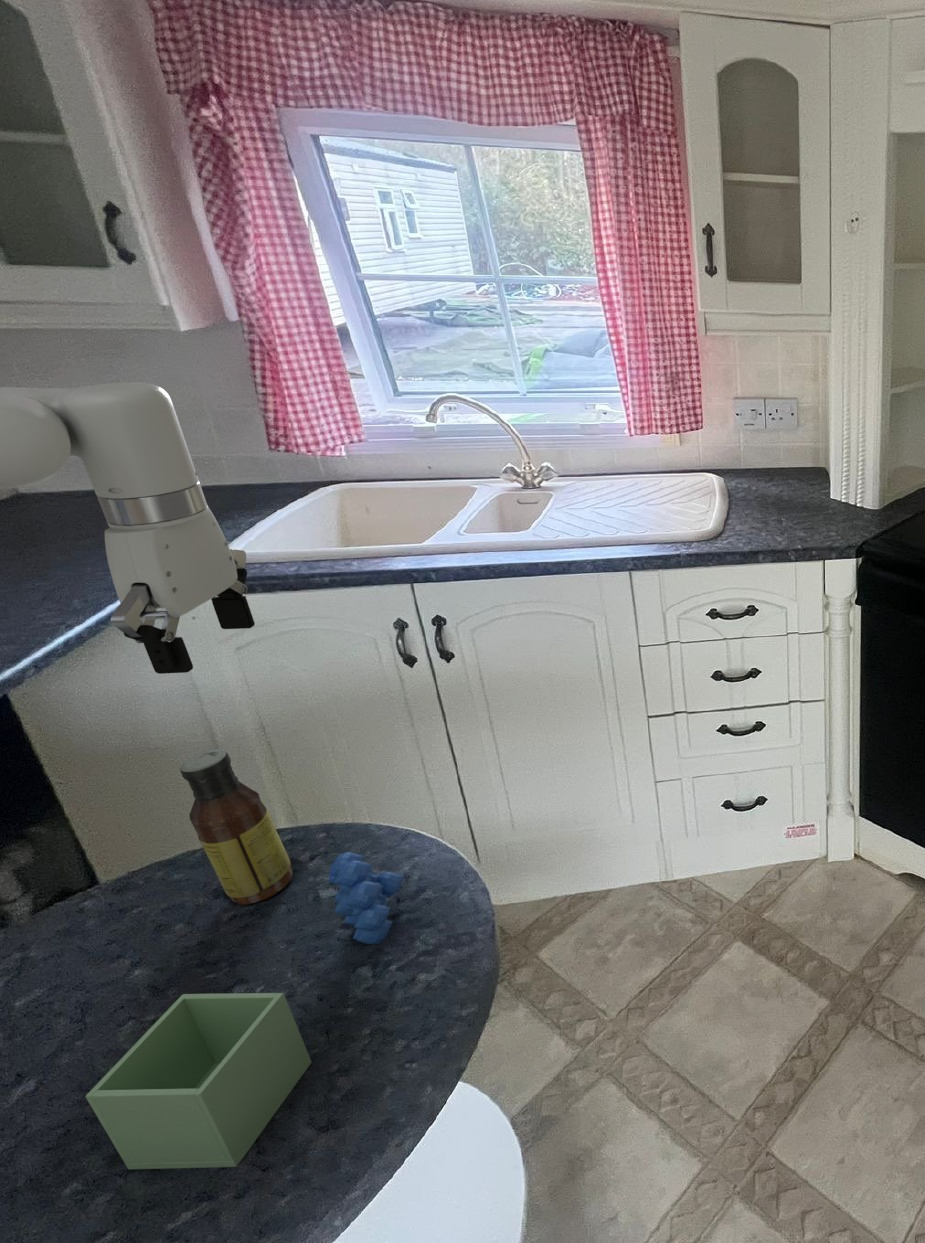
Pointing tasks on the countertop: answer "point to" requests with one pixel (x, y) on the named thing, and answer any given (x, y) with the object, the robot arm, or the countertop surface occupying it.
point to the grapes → (363, 896)
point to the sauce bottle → (235, 830)
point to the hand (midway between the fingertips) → (208, 648)
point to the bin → (202, 1081)
